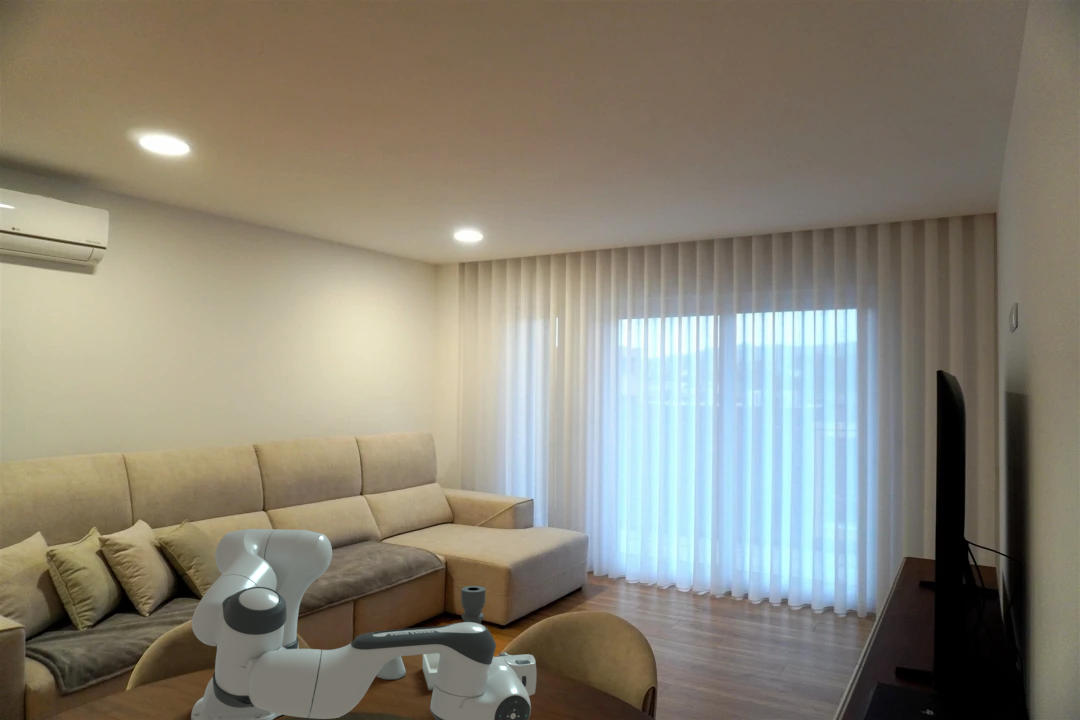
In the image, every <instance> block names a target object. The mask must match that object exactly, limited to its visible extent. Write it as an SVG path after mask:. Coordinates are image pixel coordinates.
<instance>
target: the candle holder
mask: <svg viewBox="0 0 1080 720" xmlns="http://www.w3.org/2000/svg"><path fill="white" fill-rule="evenodd" d="M486 593H487V591H486V588H485V587H484V586H479V585H469V586H468V585H467V586H464V587H462V588H461V591H460V596H461V598H460V599H461V600H460V603H461V606H462V609H463V611H464V612H463V614H461V618H462V620H463V622H474V623H478V624H482V620H483V619H484V618H485V615H484V613H483V612H482V611H483V608H484V607H485V604H486Z"/></svg>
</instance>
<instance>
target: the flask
mask: <svg viewBox="0 0 1080 720" xmlns="http://www.w3.org/2000/svg"><path fill="white" fill-rule="evenodd" d="M406 672H407V670H406V668H405V665H404V662H403V658H402V656H400V657H396V658H394V659H392V660H390V661H389V662H387V663H386V664H385V665H384V666H383V667H382V668H381V670H380V671H379V672H378V674H377V675H376V678H378V679H381V680H382V679H383V680H399V679H400V678H403V677H405V676H406Z"/></svg>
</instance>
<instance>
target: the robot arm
mask: <svg viewBox="0 0 1080 720" xmlns="http://www.w3.org/2000/svg"><path fill="white" fill-rule="evenodd" d="M332 558H333V548H332V544H331V541H330V540H329V538H328V537H327V535H325V534H324V533H320V532H316V531H313V530H312V531H311V530H307V529H283V528H281V529H280V528H279V529H273V528H269V529H268V528H245V529H238V530H233V531H229V532H227V533H225V534H224V535H223V536H222V538H221V539H220V540H219V541H218V544H217V546H216V547H215V552H214V559H215V565H216V567H217V569H218V570H219V572H220V573H221V575H220V576H219V577H218V578H217V579H216V580H215V582H213V583H212V585H211V586H210V587H209V588H208V589H207V590H206V592H205V593H204V594H203V596H202V598H201V599H200V601H199V603H198V605H197V606H196V608H195V610H194V611H193V614H192V617H191V618H192V619H191V629H192V631H193V634H194V636H195V637H196V639H198V640H199V641H200V642H201V643H203V644H205V645H207V646H209V647H210V646H211V647H216V655H215V661H214V662H215V663H214V664H215V666H214V672H213V675H212V677H211V678H210V679H209V681H208V683H207V684H206V687H205V691H204V694H203V696H202V697H201V698H200V699H198V700H197V701H196V702H195V704H194V705H193V707H192V709H191V715H190V720H274V719H275V718H278V717H280V716H282V715H283V716H288V717H289V716H290V717H295V718H306V719H317V720H319V719H320V720H321V719H323V720H325V719H326V720H327V719H330V720H331V719H336V718H341V717H342V716H344V715H347V714H348V713H349V712H351V711H352V710H353V709H355V707H356V706H357V705H358V704H359V703H360V702H361V701H362V699H363V698H364V697H365V695H366V693H367V692H368V690H369V689H370V686H372V683H373V682H374V679H375V678H377V675H378V672H379V671H380V670H381V668H382V667H383V666H384V665H385V664H386V663H387V662H389V661H390V660H392V659H394V658H396V657H400V656H401V657H406V656H407V657H409V656H420V655H423V654H433V653H440V659H439V664H438V669H437V674H436V680H435V682H434V688H433V690H432V693H431V694H432V695H431V700H430V706H429V710H430V713H431V714H432V717H433V718H434V719H435V720H529V719H530V716H531V710H532V706H531V705H532V704H531V699H530V696H533V695H535V693H536V687H537V664H536V663H537V661H536V659H535V657H534V655H533V654H529V653H527V654H526V653H525V654H515V655H514V654H508V653H507V652H499V656H495V652H496V649H497V645H496V641H495V639H494V637H493V634H492V633H491V632H490V630H489V628H488V627H487V626H485V625H484V624H482V623H481V624H478V623H474V622H464V621H463V622H456V623H451V624H444V625H437V626H436V625H435V626H427V627H426V626H425V627H412V628H398V629H385V630H378V631H371V632H366V633H365V632H364V633H362V634H359V635H357V636H356V637H355V638H354V639H353V641H352V642H350V643H349V644H347V645H344V646H342V647H339V648H333V649H319V648H318V649H316V648H315V649H314V648H300V646H299V645H300V644H299V638H298V636H297V631H298V620H299V619H298V618H299V610H300V605H301V602H302V599H303V597H304V594H305V593H306V591H307V589H308V588H309V587H310V586H311V585H312V583H314V582H315V581H316V580H317V579H318V578H320V577H321V576H322V575H324V573H326V571H327V570H328V568H329V567H330V565H331V562H332Z"/></svg>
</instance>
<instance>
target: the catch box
mask: <svg viewBox="0 0 1080 720" xmlns="http://www.w3.org/2000/svg"><path fill="white" fill-rule="evenodd" d="M439 659H440V653H433V654H422V669H421V670H422V672H423V676H424V679H425V682H426V686H427V690H428V691H433V688H434V682H435V680H436V674H437V669H438V664H439Z"/></svg>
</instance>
